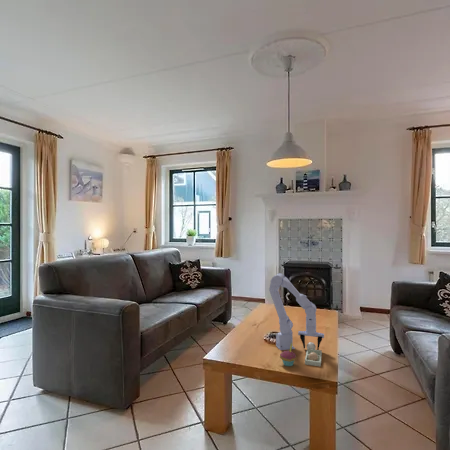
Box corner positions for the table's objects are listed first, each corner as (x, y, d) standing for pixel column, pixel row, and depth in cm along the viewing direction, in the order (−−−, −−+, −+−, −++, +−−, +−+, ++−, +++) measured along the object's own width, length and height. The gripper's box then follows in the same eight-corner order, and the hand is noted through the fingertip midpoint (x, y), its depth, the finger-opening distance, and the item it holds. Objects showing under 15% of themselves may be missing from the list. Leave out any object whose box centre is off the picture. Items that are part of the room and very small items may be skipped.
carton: (320, 367, 160) (320, 362, 160) (304, 365, 163) (304, 360, 163) (321, 354, 175) (321, 350, 175) (307, 352, 178) (307, 348, 178)
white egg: (309, 353, 178) (309, 344, 178) (305, 349, 182) (305, 341, 182) (317, 352, 179) (317, 343, 179) (313, 348, 183) (313, 340, 183)
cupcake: (294, 361, 167) (294, 339, 167) (298, 368, 159) (298, 345, 159) (278, 361, 167) (278, 339, 167) (281, 368, 159) (281, 345, 159)
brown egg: (311, 364, 162) (311, 354, 162) (306, 360, 167) (306, 351, 167) (319, 363, 163) (319, 354, 163) (315, 359, 168) (315, 350, 168)
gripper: (324, 324, 182) (324, 347, 182) (299, 322, 187) (299, 344, 187) (323, 328, 175) (324, 352, 175) (297, 325, 180) (297, 349, 180)
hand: (311, 348), depth 181 cm, fingers open, 7 cm apart
